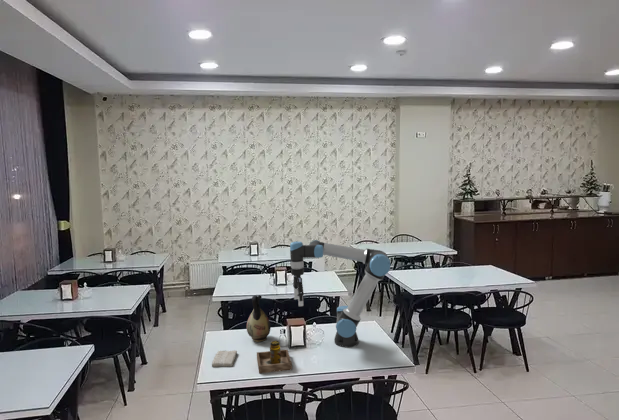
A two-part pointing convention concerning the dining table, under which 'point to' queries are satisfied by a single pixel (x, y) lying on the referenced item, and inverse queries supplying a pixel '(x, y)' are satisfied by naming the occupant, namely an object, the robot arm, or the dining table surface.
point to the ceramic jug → (258, 322)
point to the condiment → (274, 353)
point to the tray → (265, 368)
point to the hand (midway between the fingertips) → (298, 302)
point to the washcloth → (224, 358)
